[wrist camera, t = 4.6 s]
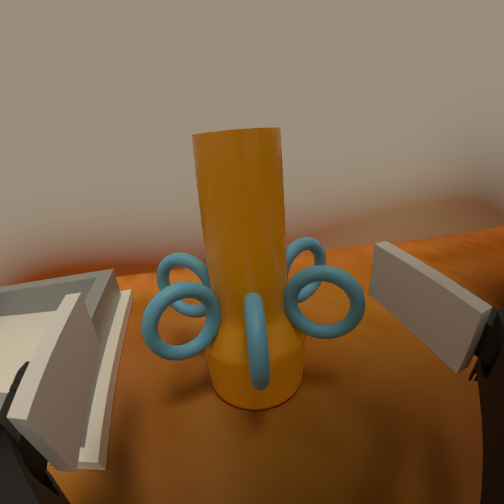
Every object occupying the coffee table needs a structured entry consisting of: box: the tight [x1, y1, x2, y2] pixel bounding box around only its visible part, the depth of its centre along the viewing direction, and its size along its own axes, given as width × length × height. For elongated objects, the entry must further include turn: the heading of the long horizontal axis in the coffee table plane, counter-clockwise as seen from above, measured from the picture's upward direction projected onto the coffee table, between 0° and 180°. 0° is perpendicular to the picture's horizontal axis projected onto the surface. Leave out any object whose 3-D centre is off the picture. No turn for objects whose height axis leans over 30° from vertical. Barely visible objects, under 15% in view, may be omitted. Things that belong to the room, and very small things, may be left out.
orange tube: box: [141, 128, 365, 410], centre depth 15 cm, size 12×10×15 cm
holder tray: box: [0, 269, 134, 471], centre depth 17 cm, size 20×20×4 cm
